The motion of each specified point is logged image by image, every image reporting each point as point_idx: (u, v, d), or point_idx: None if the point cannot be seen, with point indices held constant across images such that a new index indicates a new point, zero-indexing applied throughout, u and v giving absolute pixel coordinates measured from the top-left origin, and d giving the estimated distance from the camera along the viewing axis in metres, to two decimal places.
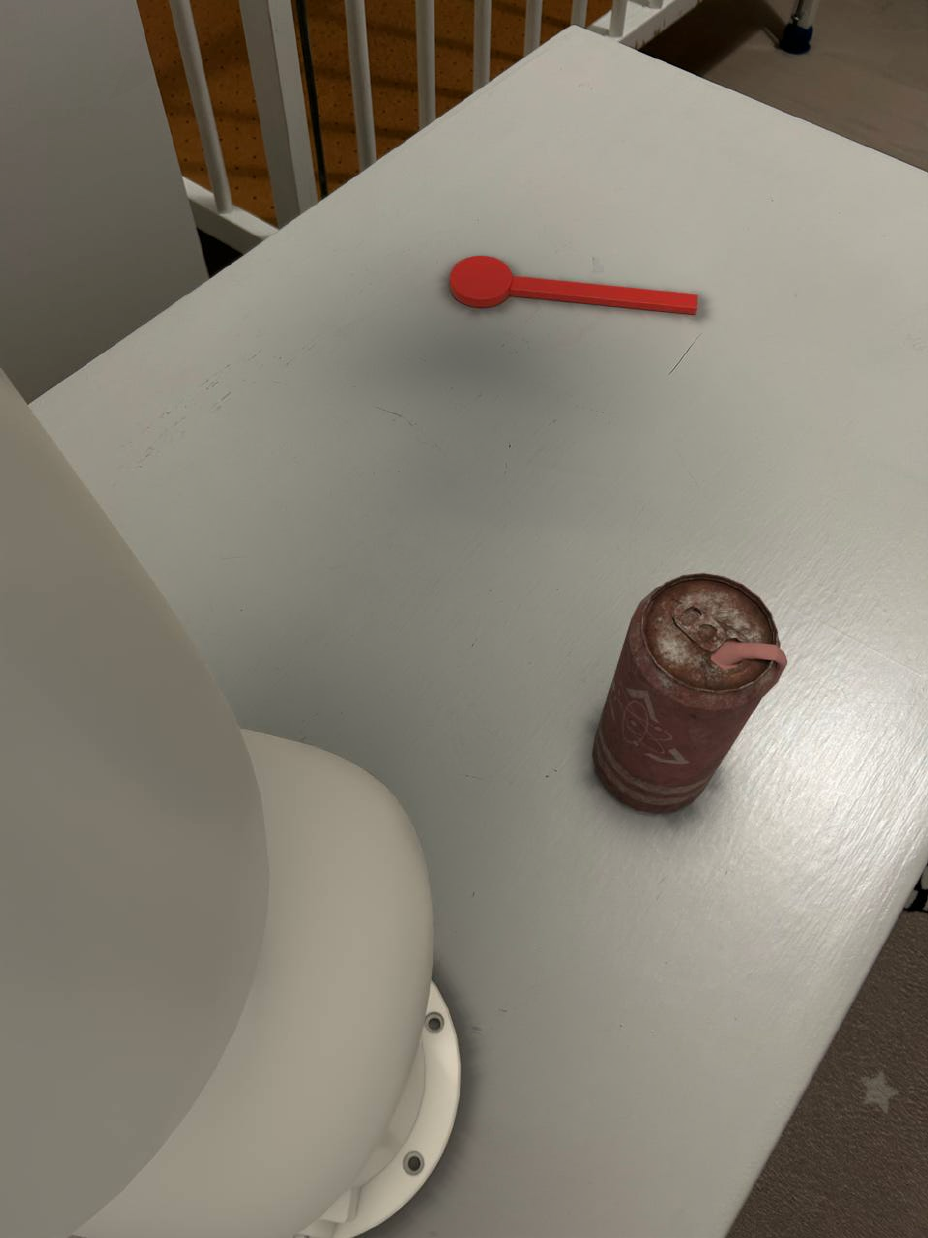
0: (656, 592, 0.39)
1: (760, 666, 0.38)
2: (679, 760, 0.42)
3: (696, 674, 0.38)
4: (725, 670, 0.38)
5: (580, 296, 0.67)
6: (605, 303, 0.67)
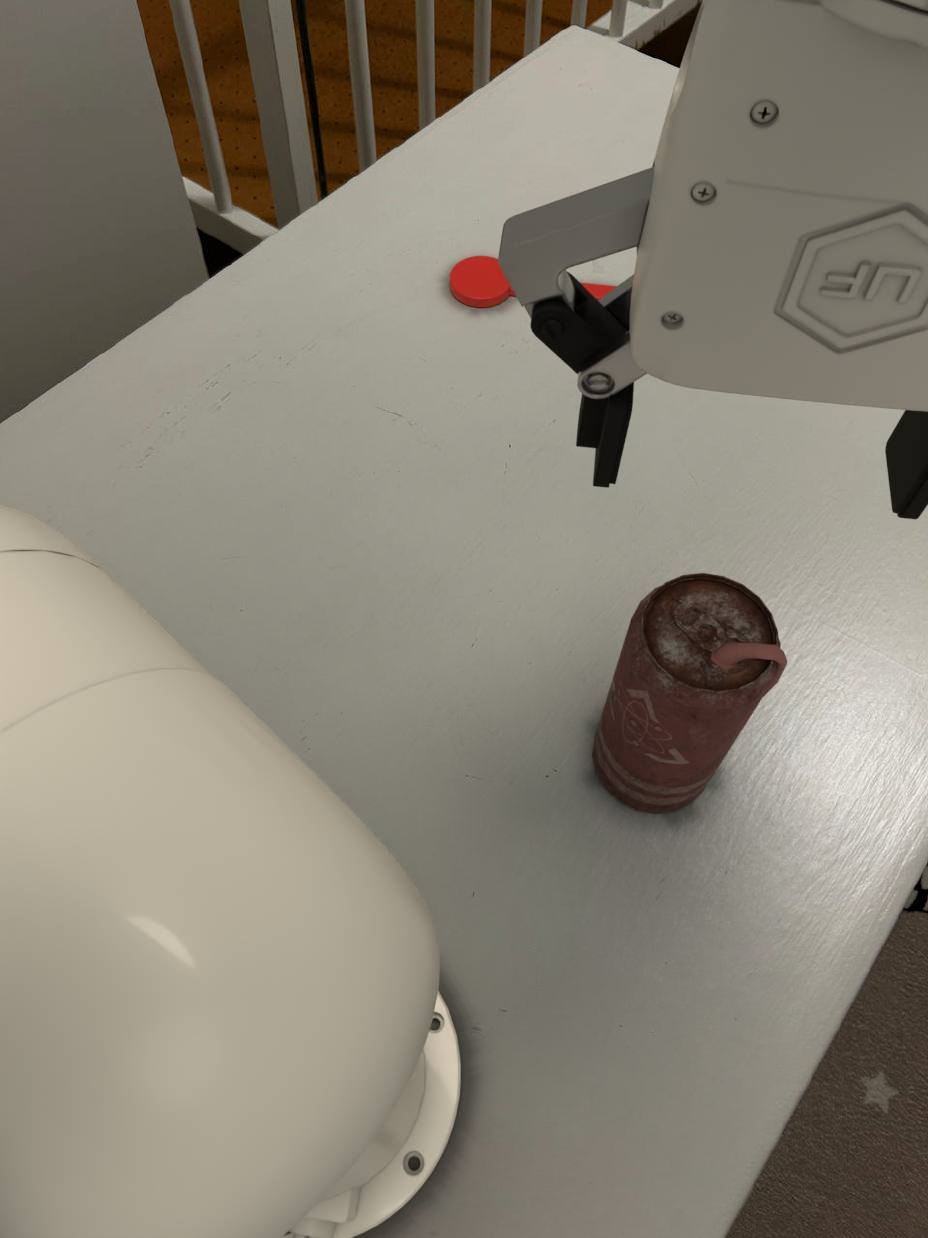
0: (656, 592, 0.39)
1: (760, 666, 0.38)
2: (679, 760, 0.42)
3: (696, 674, 0.38)
4: (725, 670, 0.38)
5: None
6: None
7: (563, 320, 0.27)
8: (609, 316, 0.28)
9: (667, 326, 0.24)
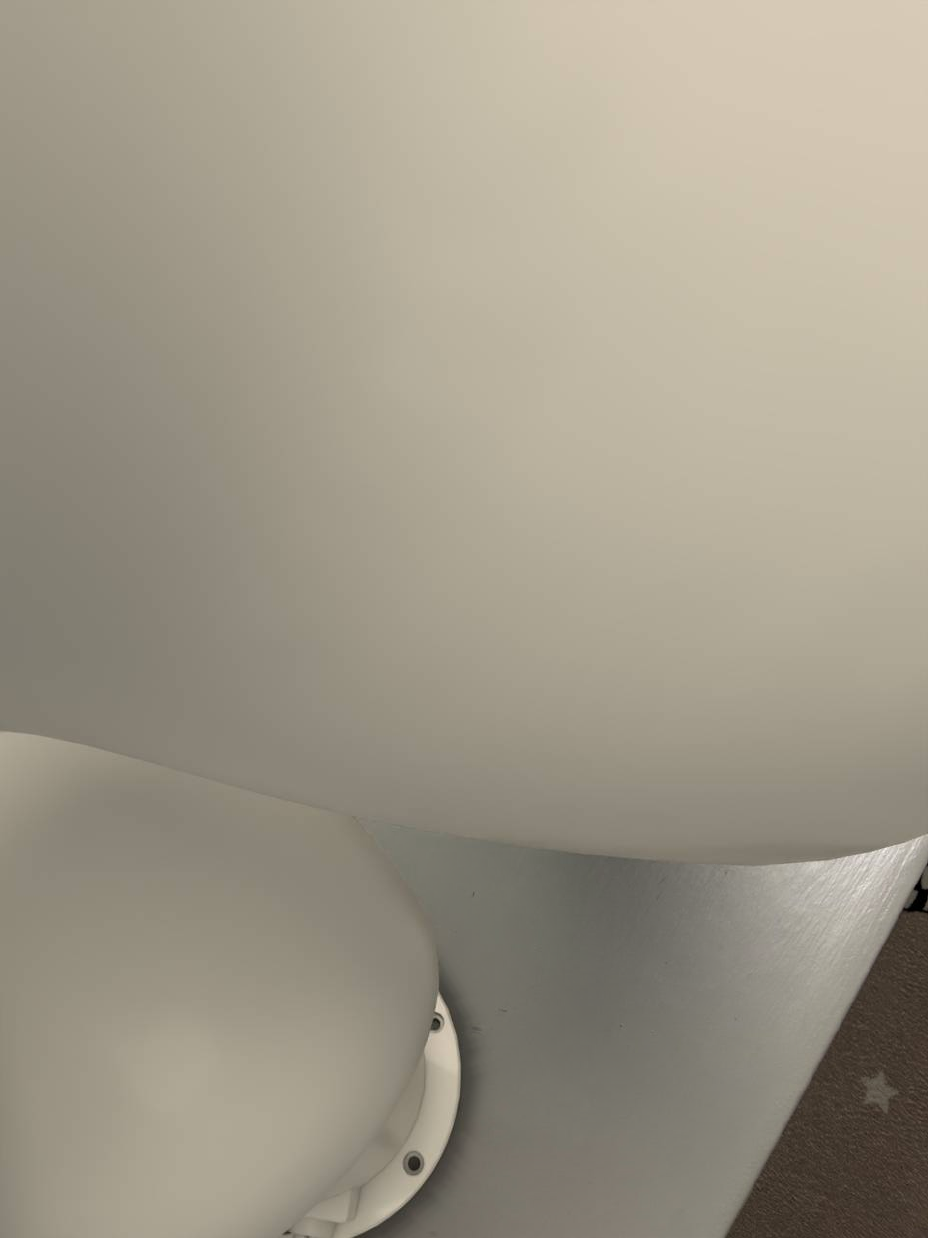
0: None
1: None
2: None
3: None
4: None
5: None
6: None
7: None
8: None
9: None
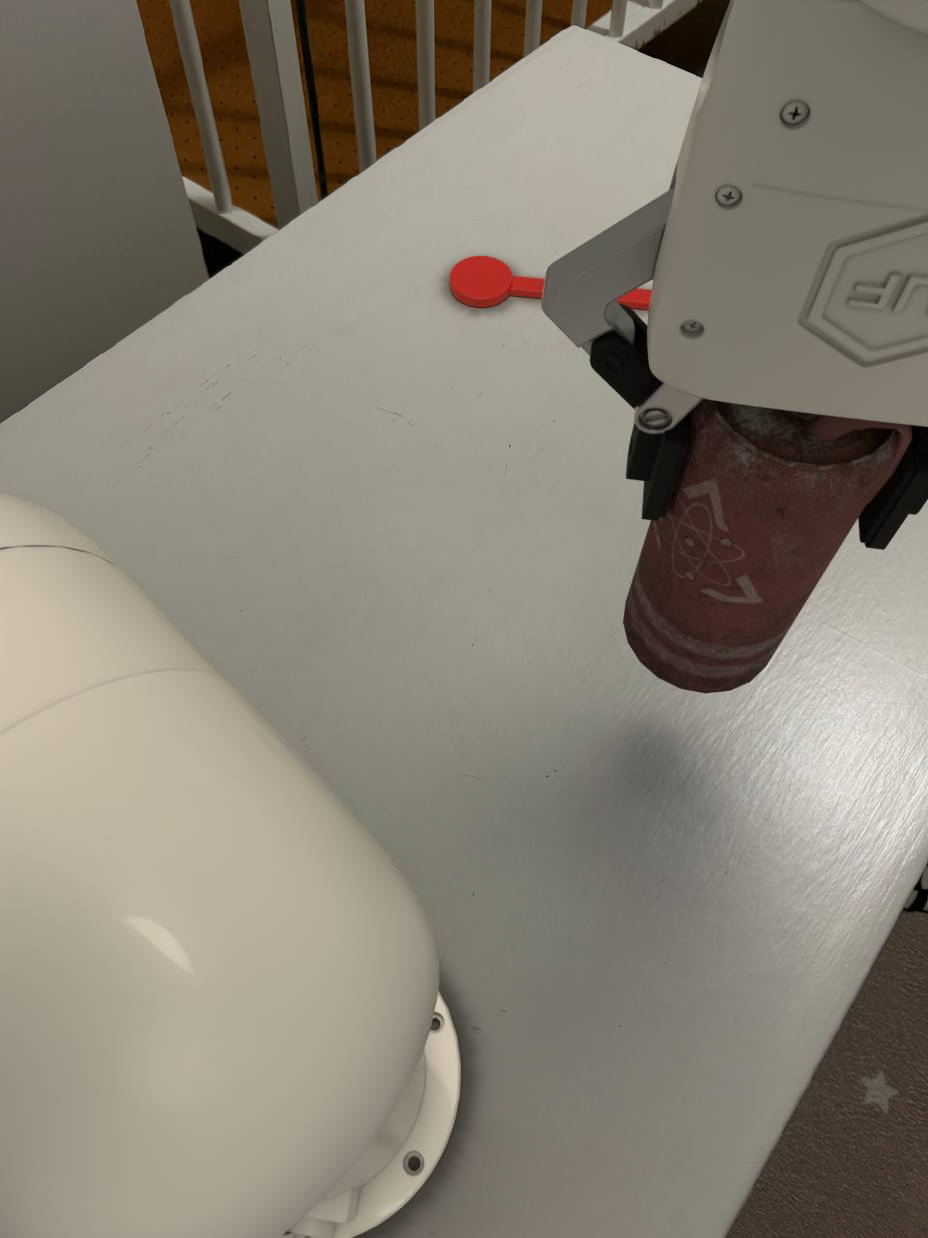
0: None
1: (876, 439, 0.27)
2: (749, 597, 0.31)
3: (787, 447, 0.27)
4: (827, 443, 0.27)
5: None
6: None
7: (623, 355, 0.26)
8: None
9: (686, 335, 0.23)
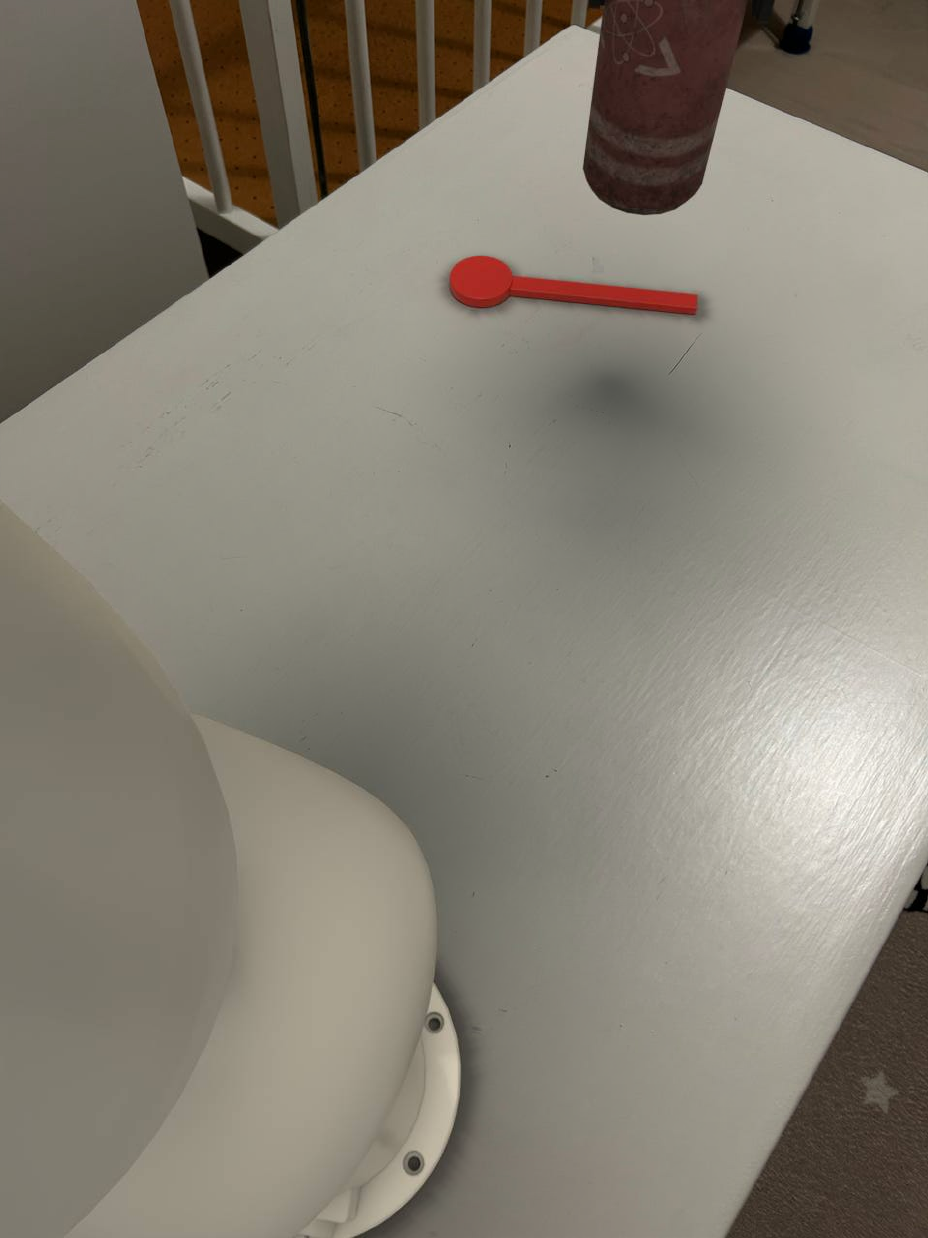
0: None
1: None
2: (669, 66, 0.42)
3: None
4: None
5: (580, 296, 0.67)
6: (605, 303, 0.67)
7: None
8: None
9: None
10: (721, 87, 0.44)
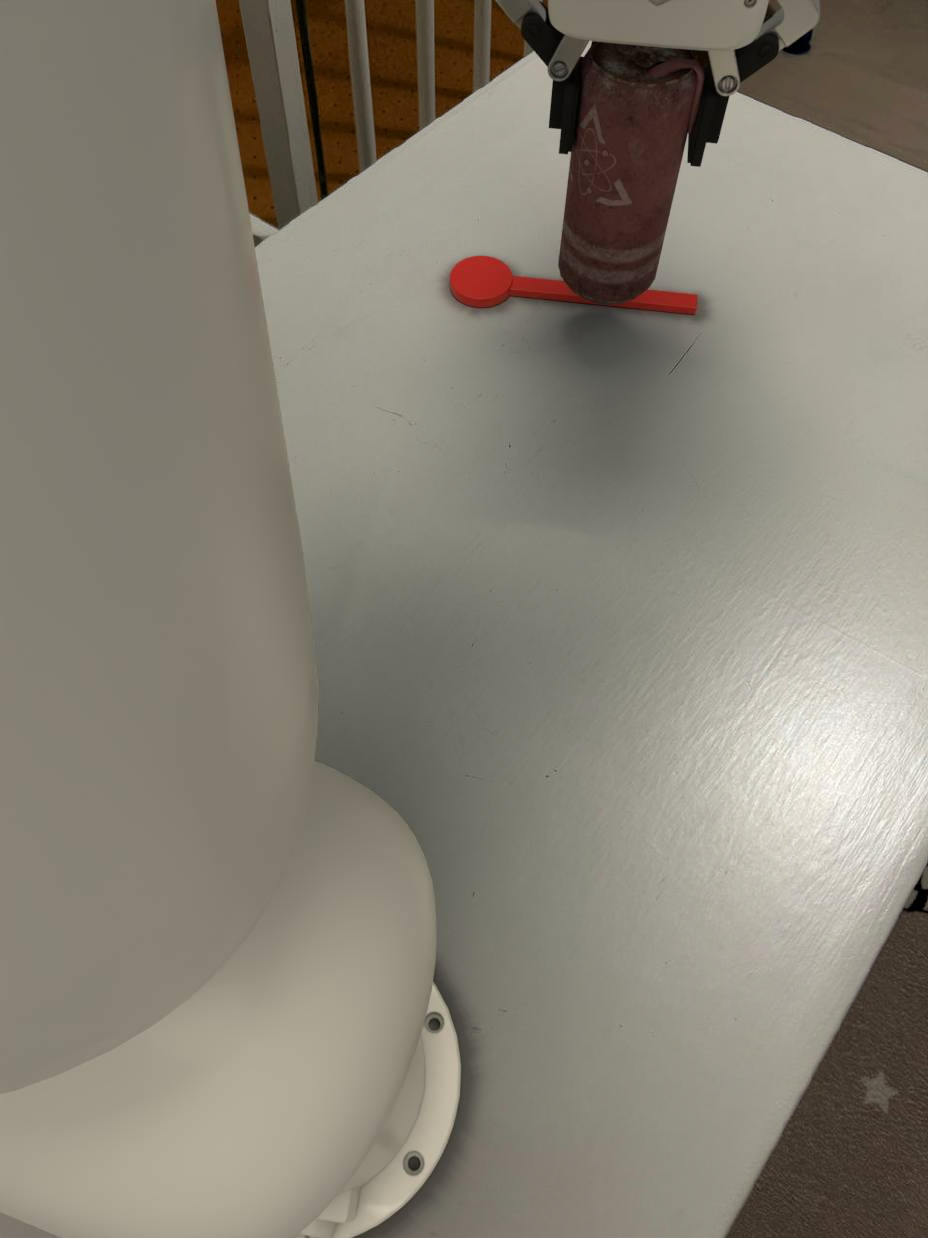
0: None
1: (682, 75, 0.48)
2: (623, 199, 0.53)
3: (632, 79, 0.48)
4: (655, 77, 0.48)
5: None
6: None
7: (539, 25, 0.48)
8: None
9: None
10: (666, 210, 0.55)
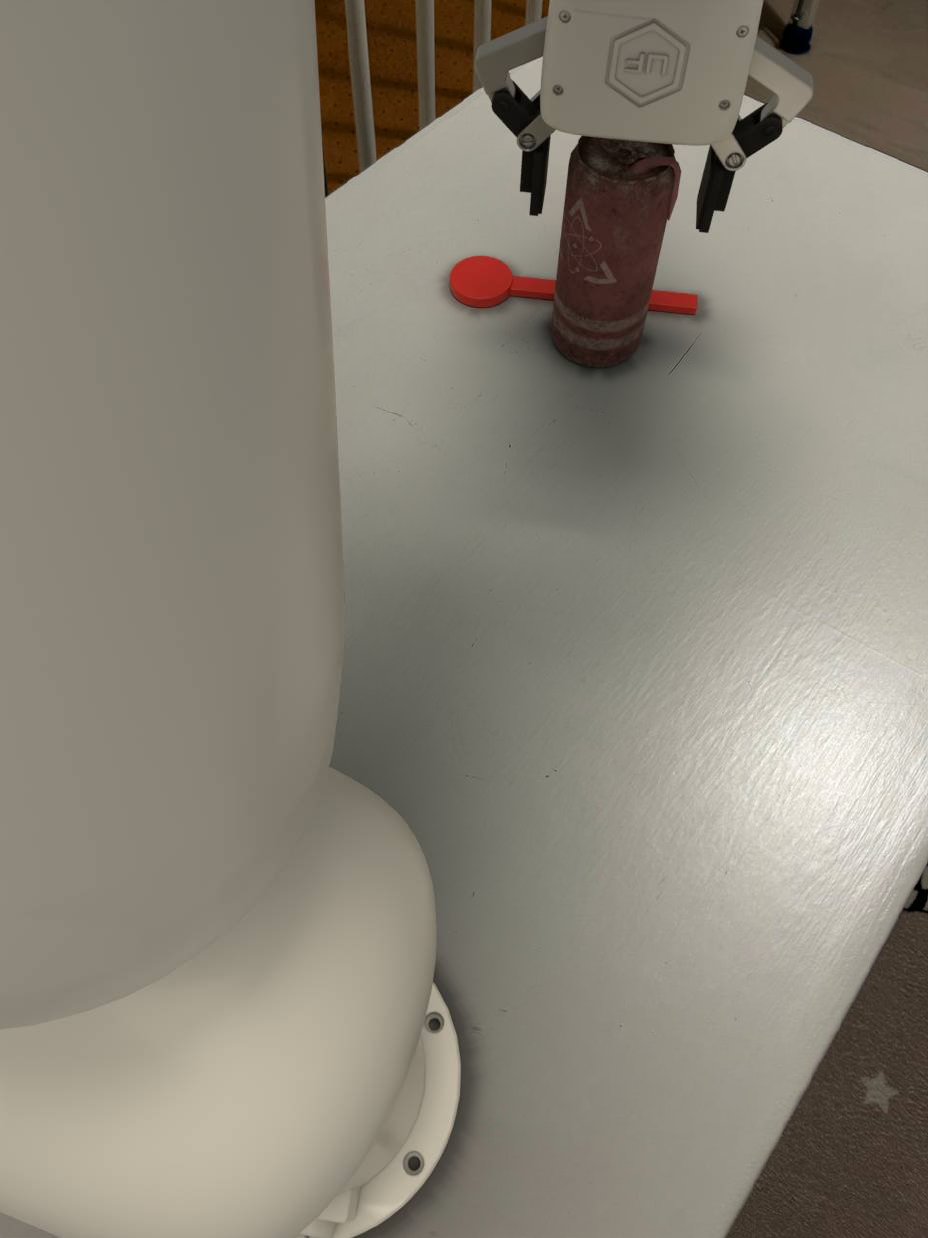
0: None
1: (661, 171, 0.53)
2: (608, 278, 0.58)
3: (615, 175, 0.53)
4: (636, 173, 0.53)
5: None
6: None
7: (508, 102, 0.51)
8: (534, 106, 0.53)
9: (556, 94, 0.49)
10: (648, 286, 0.60)
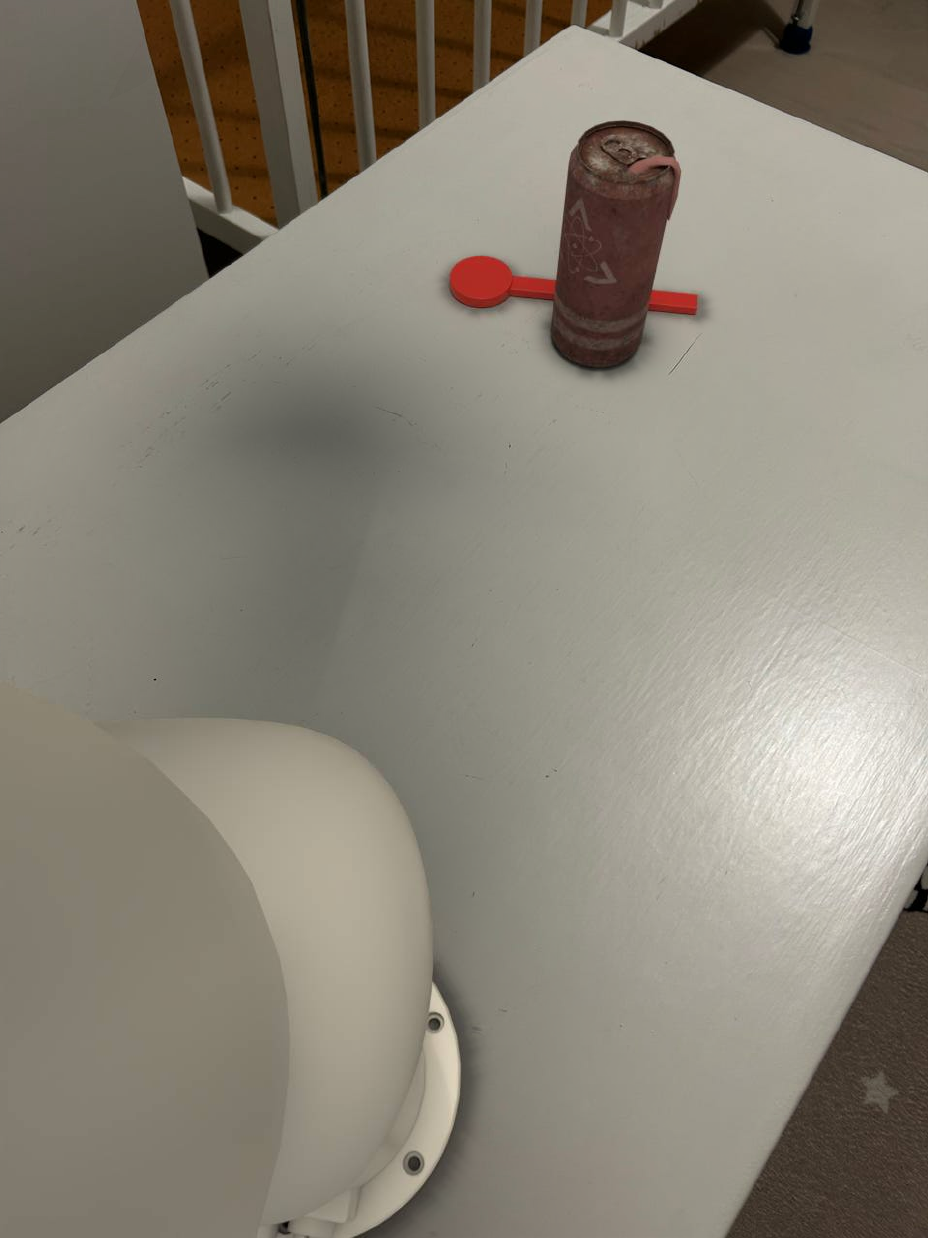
0: (589, 130, 0.55)
1: (661, 171, 0.53)
2: (608, 278, 0.58)
3: (615, 175, 0.53)
4: (636, 173, 0.53)
5: None
6: None
7: None
8: None
9: None
10: (648, 286, 0.60)
